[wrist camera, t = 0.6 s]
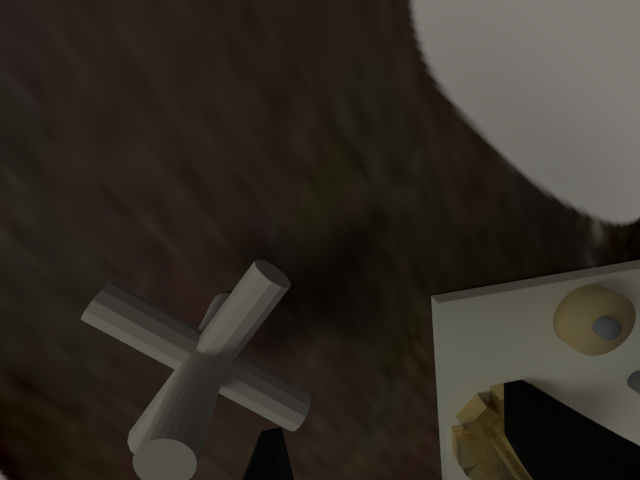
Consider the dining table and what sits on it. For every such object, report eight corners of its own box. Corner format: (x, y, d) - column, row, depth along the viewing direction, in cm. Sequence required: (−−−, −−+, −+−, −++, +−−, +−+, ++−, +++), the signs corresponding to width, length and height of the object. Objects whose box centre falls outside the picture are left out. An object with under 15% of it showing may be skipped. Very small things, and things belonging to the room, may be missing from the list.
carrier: (664, 439, 25) (731, 492, 21) (442, 482, 25) (470, 545, 21) (697, 249, 21) (788, 273, 17) (431, 295, 20) (463, 330, 17)
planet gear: (554, 460, 23) (621, 541, 19) (453, 480, 23) (495, 567, 18) (559, 373, 21) (636, 438, 17) (449, 393, 21) (495, 466, 16)
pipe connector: (347, 287, 20) (400, 420, 10) (251, 406, 21) (219, 617, 12) (197, 185, 18) (84, 233, 8) (103, 327, 19) (-84, 508, 10)
